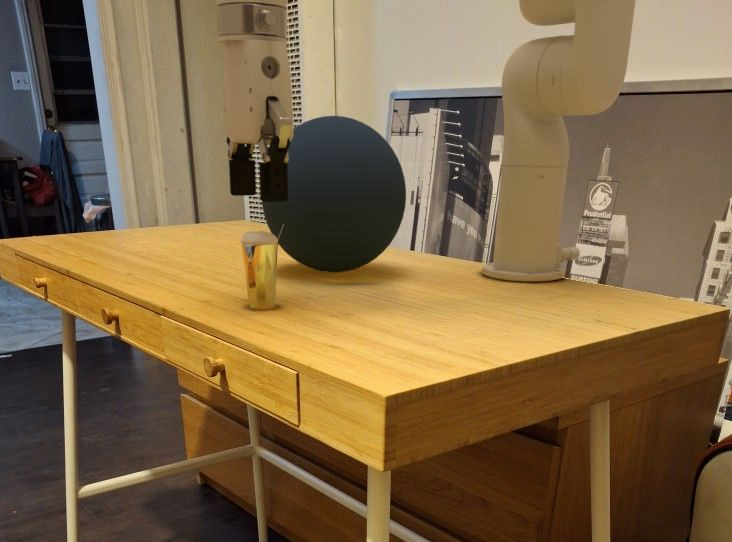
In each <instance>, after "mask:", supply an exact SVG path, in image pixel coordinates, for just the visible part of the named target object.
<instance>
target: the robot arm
mask: <svg viewBox="0 0 732 542" xmlns="http://www.w3.org/2000/svg"><path fill="white" fill-rule="evenodd" d="M518 3H519V4H518V6H519V10H520V13H521V15H522V17H523V18H524V20H525V21H526V22H528V23H529V24H532V25H534V26H541V27H545V26H546V27H548V26H549V27H550V26H557V25H558V26H559V25H565V24H574V31H573V34H569V35H555V36H548V37H547V36H546V37H540V38H536V39H532V40H529V41H527V42H524V43H522V44H520V46H518V47H517V48H516V49H515V50H514V51H513V52H512V53H511V54H510V56H509V57H508V59H507V60H506V63H505V65H504V68H503V72H502V77H501V97H502V107H503V126H504V127H503V146H502V147H503V149H502V159H501V160H502V161H501V168H500V180H499V189H498V191H499V192H498V202H497V213H496V214H497V215H496V225H495V237H494V249H493V260H492V262H489V263H485V264H484V265H482V271H481V273H482V274H483V275H485V276H486V277H489V278H493V279H498V280H504V281H505V280H506V281H515V282H550V281H556V280H560V279H563V278H564V277H565V274H566V268H564V267H563V266H561V264H562V263H564V262H565V261H576V260H578V259H579V258H580V256H581V250H580V249H579V247H577V246H571V247H565V248H564V245H563V244H561V243H559V238H560V231H561V223H562V214H563V207H564V199H565V191H566V183H567V174H568V168H569V160H570V141H569V140H570V139H569V135H568V131H567V127H566V125H565V121H564V117H565V116H593V115H598V114H600V113H603V112H606V110H608V109H609V108H610V107H611V106H612V105H613V104H614V103H615V102H616V100H617V99H618V97H619V95H620V93H621V91H622V88H623V85H624V81H625V78H626V74H627V67H628V61H629V55H630V47H631V40H632V39H631V38H632V30H633V23H634V16H635V7H636V0H518ZM216 16H217V33H218V34H217V36H218V44H220V45H222V46H224V55H223V56H224V58H223V105H224V107H223V108H224V109H223V111H224V125H225V126H224V127H225V133H226V144H227V147H228V148H227V158H228V172H229V173H228V174H229V192H230V195H231V196H235V197H236V196H237V197H239V196H240V197H241V196H248V197H249V196H255V195H256V194H257V180H256V176H257V175H256V159H253V155H254V154H253V153H254V151H255V146H256V144H257V147H258V150H259V153H260V157H261V160H262V162H258V167H259V198H260V201H261V202H262V201H263V202H285V201H287V200H288V167H287V163H288V161H289V154H288V149H289V145H290V141H291V140H292V139H293V129H294V109H293V108H294V107H293V94H292V93H293V92H292V91H293V90H292V79H291V78H292V76H291V69H290V61H289V53H288V47H287V46H288V1H287V0H216ZM563 116H564V117H563Z"/></svg>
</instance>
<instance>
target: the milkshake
mask: <svg viewBox="0 0 732 542" xmlns="http://www.w3.org/2000/svg"><path fill="white" fill-rule="evenodd" d="M283 225H284V224H283ZM282 228H283V227H282ZM281 231H282V229H281ZM280 233H281V232H280ZM279 236H280V235H279ZM278 239H279V237H278ZM278 239H277V237H276V236H275V235H273V234H272V233H271V232H268V231H264V230H259V231H252V230H251V231H246V232H245V233H244V234H243V235H242V236H241V239H240V247H241V252H242V259H243V260H242V261H243V266H244V275H245V283H246V292H247V300H248V306H249V308H250V309H253V310H270V309H274V308H275V307H276V300H277V299H276V298H277V267H278V266H277V265H278V264H277V263H278V248H279V247H278V246H279V244H278Z"/></svg>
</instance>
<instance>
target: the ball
mask: <svg viewBox="0 0 732 542" xmlns="http://www.w3.org/2000/svg"><path fill="white" fill-rule="evenodd" d="M288 154H289V161H288V163H287V167H288V200H287V201H285V202H263V201H261V205H262V211H263V216H264V219H265V222H266V224H267V228H268V229H269V231H270V233H271V234H273V235H275V236H276V237H277V239H278V237H279V239H278V246H279V247H280V249H282V251H284V253H286V254H287V255H288V256H289V257H290V258H291V259H293V260H294V261H296V262H297V263H299V264H300V265H302V266H304V267H306V268H309V269H312V270H315V271H319V272H321V273H332V274H333V273H334V274H335V273H347V272H350V271H354V270H358V269H360V268H362V267H364V266H366V265H368V264H370V263H371V262H372V261H374V260H376V259H377V258H378V257H379V256H380V255H382V254H383V253H384V252H385V250H387V249H388V248H389V246H391V243H392V242H393V240H394V239H395V237H396V235H397V233H398V232H399V230H400V227H401V225H402V222H403V219H404V215H405V211H406V210H405V209H406V203H407V202H406V201H407V185H406V178H405V175H404V171H403V167H402V165H401V163H400V160H399V158H398V156H397V154H396V152H395V151H394V149H393V148H392V146H391V145H390V144H389V142H388V141H387V140H386V139H385V138H384V137H383V136H382V135H381V134H380V133H379V132H378V131H376V130H375V129H374V128H372V127H371V126H370V125H368V124H366V123H365V122H362V121H360V120H357V119H355V118H352V117H348V116H342V115H324V116H319V117H315V118H311V119H309V120H306V121H304V122H302V123H301V124H298V125H297V126H295V127H293V139H292V140H291V141H290V145H289V149H288ZM283 224H284V225H283ZM282 227H283V228H282ZM281 229H282V231H281ZM280 232H281V233H280ZM279 235H280V236H279Z"/></svg>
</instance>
